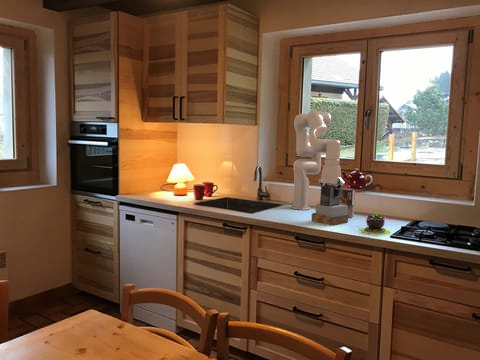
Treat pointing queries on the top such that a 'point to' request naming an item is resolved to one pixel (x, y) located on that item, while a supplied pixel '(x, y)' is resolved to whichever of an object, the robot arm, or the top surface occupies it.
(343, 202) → the coffee box
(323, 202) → the small box
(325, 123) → the robot arm
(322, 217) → the tower base
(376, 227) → the toy cauldron
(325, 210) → the tower top
